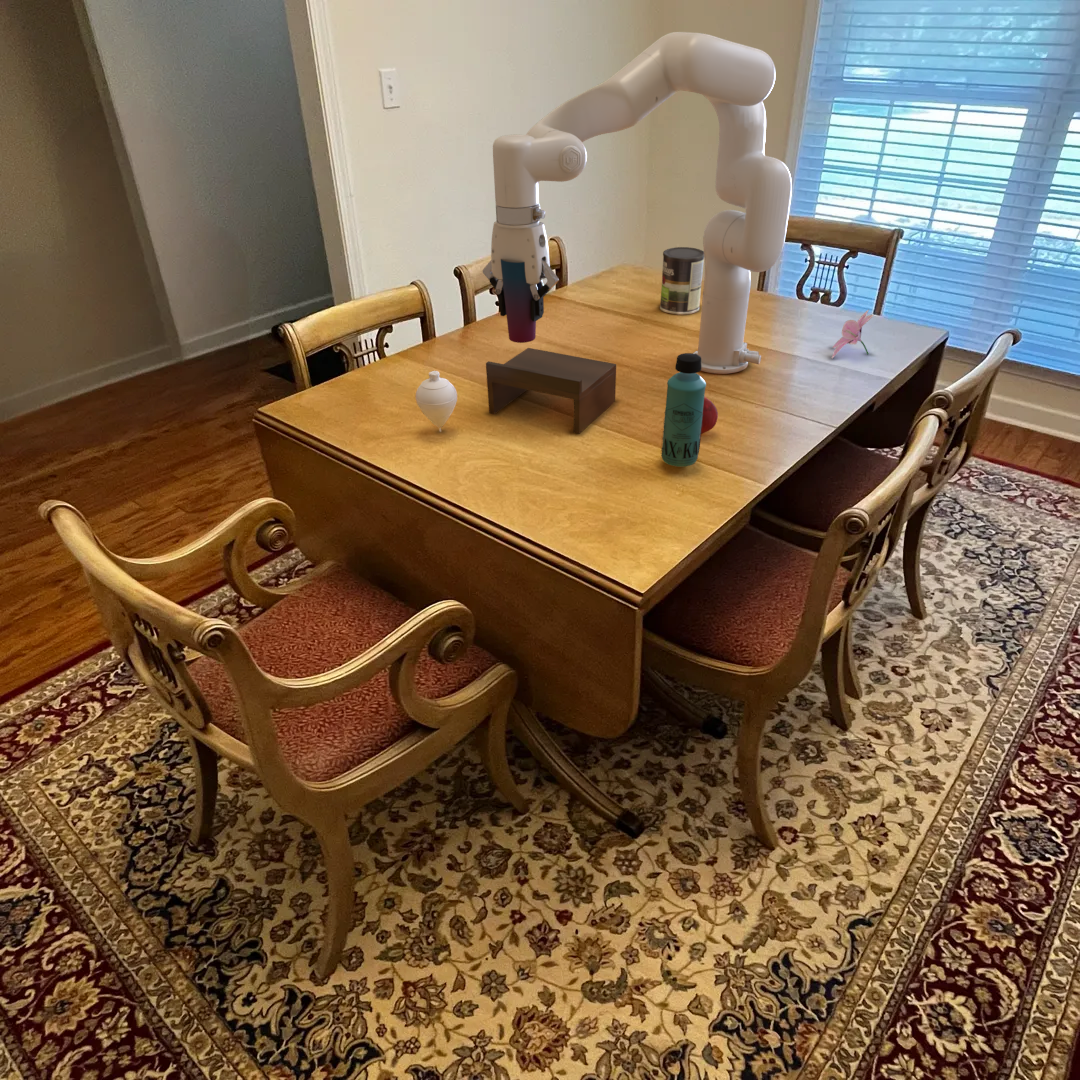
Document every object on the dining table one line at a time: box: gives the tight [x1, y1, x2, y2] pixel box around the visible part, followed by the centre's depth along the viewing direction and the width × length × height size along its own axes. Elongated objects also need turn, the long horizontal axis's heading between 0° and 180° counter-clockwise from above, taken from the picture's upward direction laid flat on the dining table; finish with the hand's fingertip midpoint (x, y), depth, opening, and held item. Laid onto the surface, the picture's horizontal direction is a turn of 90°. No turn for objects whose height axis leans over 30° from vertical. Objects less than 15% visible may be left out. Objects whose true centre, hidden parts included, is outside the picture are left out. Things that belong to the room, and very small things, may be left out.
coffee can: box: [659, 246, 705, 316], centre depth 202 cm, size 10×10×14 cm
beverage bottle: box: [660, 352, 707, 468], centre depth 132 cm, size 6×7×20 cm
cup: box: [501, 259, 537, 344], centre depth 146 cm, size 7×7×15 cm
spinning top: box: [415, 370, 458, 433], centre depth 148 cm, size 8×8×12 cm
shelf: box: [485, 347, 617, 435], centre depth 156 cm, size 16×20×10 cm
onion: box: [700, 396, 719, 436], centre depth 145 cm, size 6×6×8 cm
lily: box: [831, 309, 874, 359], centre depth 176 cm, size 12×12×10 cm
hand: (521, 315), depth 148 cm, fingers closed on cup, 6 cm apart
